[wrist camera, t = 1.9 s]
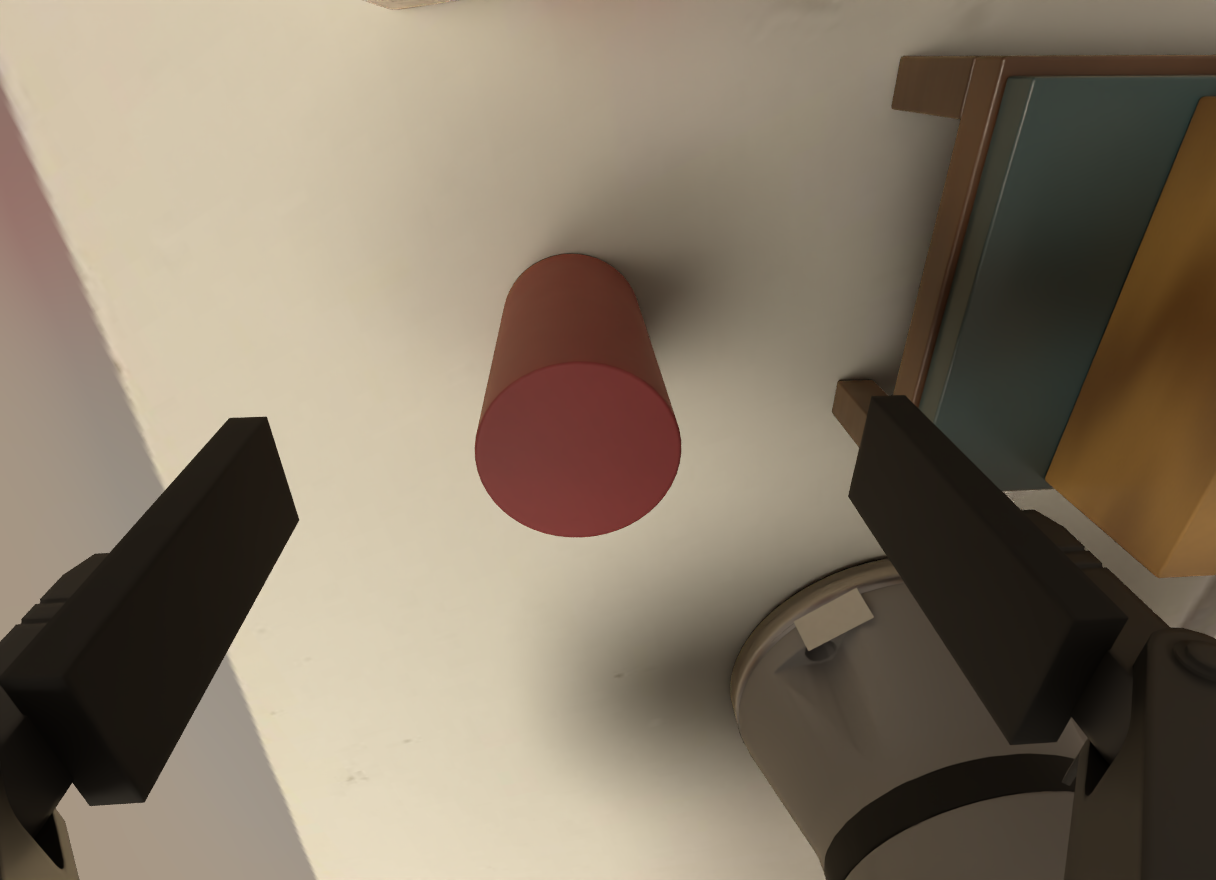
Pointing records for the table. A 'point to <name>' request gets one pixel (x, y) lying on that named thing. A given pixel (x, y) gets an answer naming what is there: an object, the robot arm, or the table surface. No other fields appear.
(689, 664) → the table surface
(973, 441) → the chair
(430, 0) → the ink cartridge box
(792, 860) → the table surface
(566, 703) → the table surface
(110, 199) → the table surface
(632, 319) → the dark red cylinder
